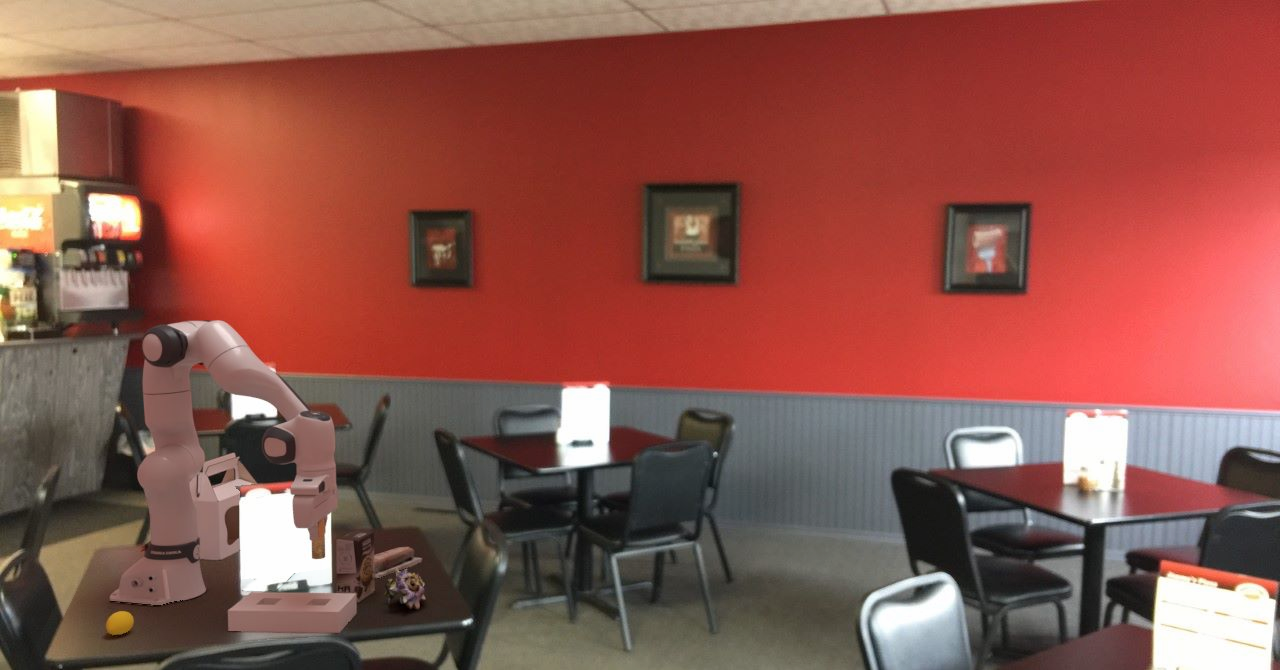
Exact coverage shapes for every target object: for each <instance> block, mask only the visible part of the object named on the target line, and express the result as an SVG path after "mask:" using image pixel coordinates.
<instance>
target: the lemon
mask: <svg viewBox="0 0 1280 670" xmlns="http://www.w3.org/2000/svg"><path fill="white" fill-rule="evenodd" d="M134 622H135V620H134V616H133V615H132V613H130V612H128V611H124V610H119V611H116V612H113V613H112V614H111V615H110V616H109V617H108V618H107V620H106V622H105V629H106V631H107V633H108V634H110V635H111V634H112V635H111V636H113V635H116V634H123V633H126V632H127V633H128V631H129V632H130V631H131V629H132V628H133V627H134ZM127 633H126V634H127Z"/></svg>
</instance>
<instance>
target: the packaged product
mask: <svg viewBox="0 0 1280 670" xmlns="http://www.w3.org/2000/svg"><path fill="white" fill-rule="evenodd" d="M414 555H415V550H414V548H411V547H410V546H402V547H396V548H395V547H394V548H393V549H392V548H391V549H389V550H385V551H383V552H380V553H376V554H374V577H375V579H377V578H380V579H382V578H384V577H383V576H385V577H387V576H389V575H388V574H390V575H392V574H391V573H393V574H395V573H394V572H395V568H397V569H398V570H401V571H403V570H402V569H404V570H405V568H406V569H409V568H412V567H414V566H416V565H418V563H419V564H421V563H422V562H423V558H422V557H415V556H414ZM408 567H409V568H408ZM386 575H387V576H386ZM381 577H382V578H381Z"/></svg>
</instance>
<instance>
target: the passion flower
mask: <svg viewBox="0 0 1280 670" xmlns="http://www.w3.org/2000/svg"><path fill="white" fill-rule="evenodd" d="M394 574H395V578H394V580H393V577H392V578H388V579H387V582H385V583H386V584H384V587H385V589H386V590H385V592H384V593H383V594H382V597H384V598H385V597H386V596H388V605H390V604H391V601H392V600H393V599H394V598H395V596H396V595H398V594H400V593H401V594H402V595H401V597H400V598H399V603H400V604H401V605H403V604H405V605H406V607H407V608H408V609H410V610H412V608H413V609H414V610H419V609H420V600H422V601H425V600H426V597H425V595H424V593H426V591H425V588H424V586H425V582H423V579H422V577H421V573H420V572H417V574H416V573H415V572H408V568H406V569H404V570H401V571H399V570H398V569H397V568H395V573H394Z"/></svg>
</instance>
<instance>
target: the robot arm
mask: <svg viewBox="0 0 1280 670" xmlns="http://www.w3.org/2000/svg"><path fill="white" fill-rule="evenodd" d="M140 349H141V353H142V355H143V358H144V362H143V363H144V364H143V371H142V372H143V373H142V396H143V410H144V423H145V426H146V427H147V428H148V430H149V432H150V434H151V435H150V436H151V438H152V441H153V444H154V451H152V452H150V453H149V454H148V455H146V457H145V458H144V459H143V460H142V461H141V463H140V465H139V466H138V469H137V473H136V474H137V480H138V483H139V485H140V487H141V488H142V489H143V491H144V494H145V498H146V503H147V507H148V511H149V527H150V528H149V530H150V532H149V533H150V540H149V541H148V542H147V543H145V544H144V545H143V546H141V547H140V552H143V551H144V554H143V557H141V558H140V559H138V560H137V561H136V562H135V563H133V564H132V565H131V566H130V567H129V568H127V569H126V570H125V571H124V572H123V573H122V575H121V577H120V581H119V586H118V588H117V589H115V590H114V591H113V592H112V593H110V595H109V599H110V600H111V601H123V602H132V603H142V604H151V605H150V606H153V605H161V606H164V605H163V604H165V605H167V604H166V603H168V604H170V603H169V602H172V603H175V602H174V601H177V602H181V601H182V600H183V601H186V600H187V601H188V600H191V599H194V598H196V597H200V596H201V595H203V594H204V593H206V591H207V587H206V586H205V582H204V579H203V575H202V569H201V562H200V561H201V559H200V538H199V537H198V522H197V507H196V505H195V504H194V502H193V499H192V495H191V491H190V481H191V480H192V479H193V478H194V477H196V476H197V475H198V474H199V473H200V472H201V469H202V467H203V464H204V462H205V461H206V454H205V451H204V450H203V448H202V447H201V446H200V442H199V437H198V436H199V435H198V433H197V430H196V427H195V421H194V415H193V402H192V401H193V400H192V390H191V389H192V387H191V380H190V373H191V370H192V367H194V366H196V365H197V364H198V365H200V366H204V367H205V369H206V370H207V371H208V373H209V375H210V376H211V378H212V379H213V381H214V382H215V383H216V384H217V386H219V387H220V388H221V389H222V390H224V392H226V393H229V394H232V395H235V396H243V397H251V398H255V399H259V400H262V401H265V402H266V403H269V404H270V405H272V406H273V407H274V408H275V409H276V410H277V411H278V412H279V413H280V414H281V416H283V418H284V419H285V422H283V423H282V422H281V423H279V424H276V425H273V426H271V427H269V428H267V429H266V430H265V432H264V434H263V436H262V439H261V449H262V453H263V455H264V456H265V458H266V459H267V461H269V462H270V463H271V464H274V465H288V464H291V463H295V464H296V475H295V477H294V481H293V482H292V484H291V485H290V488H289V489H290V490H289V491H290V494H291V496H293V498H292V516H293V524H294V527H295V528H297V529H307V531H308V533H309V541H311V542H312V541H316V540H317V539H319V532H318V529H317V526H318V522H319V521H320V520H322V519H323V518H324V524H325V534H326V529H327V528H326V527H327V522H328V515H330V514H331V513H332V512H334V511H335V510H336V509H337V508H338V505H339V496H338V485H337V464H336V461H335V452H336V434H335V433H336V432H335V430H336V429H335V425H334V422H333V419H332V417H331V415H330V414H328V413H327V412H324V411H320V410H313V409H311V408H310V407H309V405H308V404H307V403H306V402H305V401H304V400H303V399H302V397H301V396H300V395H299V394H298V393H297V392H296V391H295V390H294V389H293V387H291V385H290V384H289V383H288V382H287V381H286V380H285V379H284V378H283V377H282V376H281V375H279V373H277V372H276V371H274V370H273V369H271V368H270V367H269V366H268V365H266V364H265V363H264V362H263V361H262V360H261V359H259V357H258V356H257V355H256V354H255V353H254V351H253V350H252V349H251V348H250V346H249V345H248V343H247V342H246V340H245V339H244V338H243V337H242V336H241V335H240V334H239V333H238V332H237V331H236V330H235V328H233V326H231V324H229V323H227V322H225V321H224V320H218V319H217V320H207V319H205V320H185V321H180V322H174V323H169V324H159V325H155V326H153V327H151V328H148V329H147V330H146V331H145V332H144V333H143V335H142V339H141V343H140ZM110 600H109V601H110ZM180 600H181V601H180ZM142 604H141V605H142Z"/></svg>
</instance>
